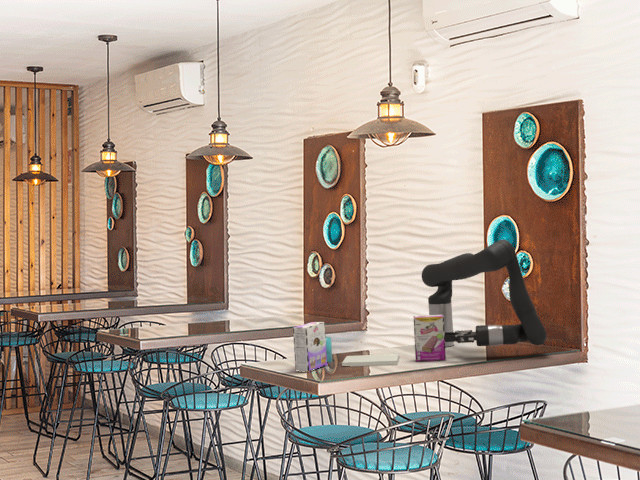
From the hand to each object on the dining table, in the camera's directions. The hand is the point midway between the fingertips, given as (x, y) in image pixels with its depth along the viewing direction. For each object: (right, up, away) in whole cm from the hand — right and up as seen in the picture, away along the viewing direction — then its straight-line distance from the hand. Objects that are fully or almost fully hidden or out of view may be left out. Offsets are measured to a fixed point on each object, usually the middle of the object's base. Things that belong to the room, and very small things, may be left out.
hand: (444, 337), depth 302 cm
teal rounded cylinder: (-44, -11, +14) cm, 48 cm away
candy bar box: (-5, -9, +1) cm, 10 cm away
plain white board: (-26, -10, +5) cm, 29 cm away
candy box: (-49, -12, -1) cm, 50 cm away
